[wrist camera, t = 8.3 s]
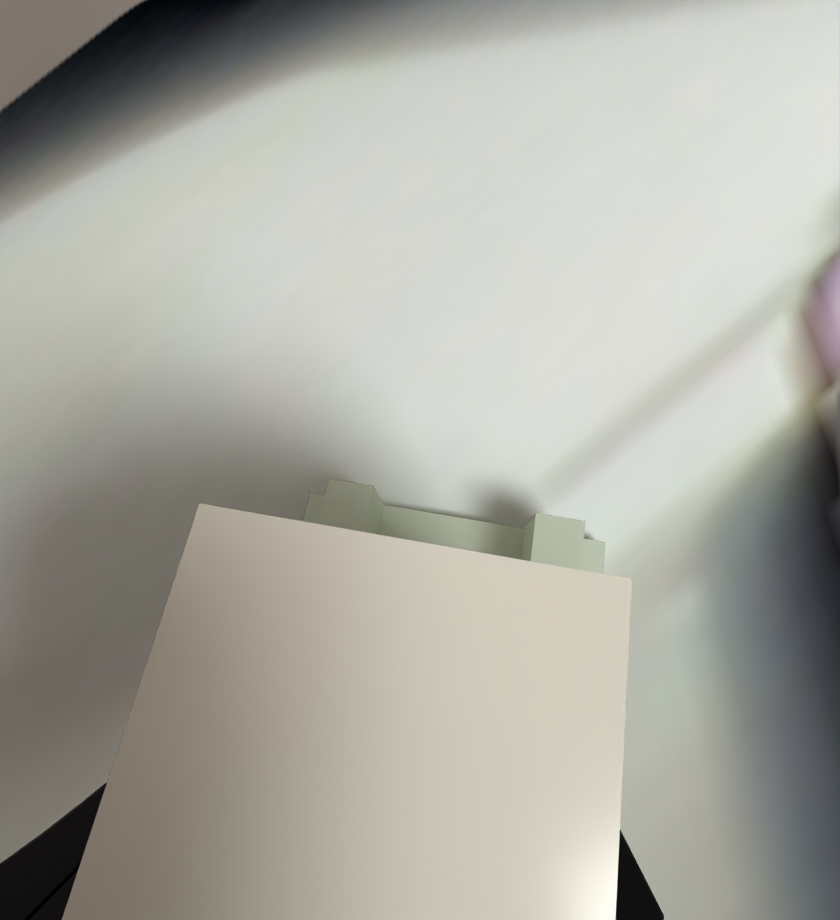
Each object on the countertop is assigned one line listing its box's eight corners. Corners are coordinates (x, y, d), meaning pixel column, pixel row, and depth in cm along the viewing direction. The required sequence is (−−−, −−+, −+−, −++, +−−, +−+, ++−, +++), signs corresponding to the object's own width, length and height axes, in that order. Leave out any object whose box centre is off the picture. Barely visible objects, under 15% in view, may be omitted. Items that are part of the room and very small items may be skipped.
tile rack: (570, 943, 14) (606, 1040, 11) (225, 853, 16) (165, 915, 12) (598, 545, 18) (632, 528, 15) (315, 497, 19) (287, 472, 16)
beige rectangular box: (469, 815, 15) (572, 1826, 2) (342, 785, 15) (-133, 1504, 3) (495, 611, 16) (631, 578, 4) (381, 589, 17) (199, 503, 5)
